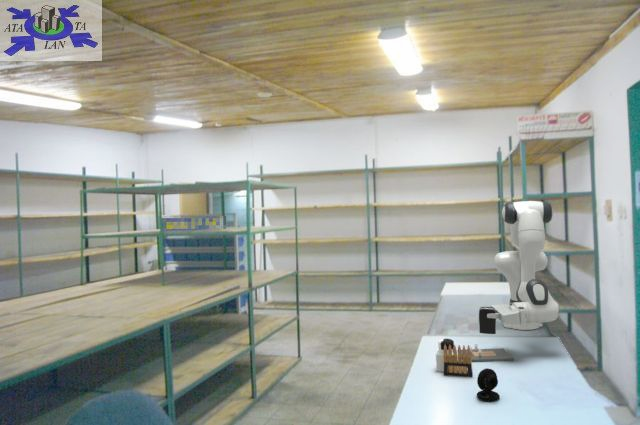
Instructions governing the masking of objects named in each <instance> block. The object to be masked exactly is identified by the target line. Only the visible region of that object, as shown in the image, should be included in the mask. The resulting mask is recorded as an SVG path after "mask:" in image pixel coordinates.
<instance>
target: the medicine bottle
mask: <svg viewBox="0 0 640 425" xmlns="http://www.w3.org/2000/svg"><path fill="white" fill-rule="evenodd" d="M437 342H438V350H437V352H436V354H435V363H436V372H440V373H444V345H446V347H447V354H449V345H451V349H452V356H453V347H454V345H455V343H454V342H455V341H454V340H453V339H451V338H441V339H439V340H438V341H437ZM457 350H458V349H456V352H457V353H458V351H457ZM448 368H449V366H448ZM453 371H454V369H453Z"/></svg>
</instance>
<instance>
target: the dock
mask: <svg viewBox="0 0 640 425" xmlns="http://www.w3.org/2000/svg"><path fill="white" fill-rule="evenodd" d="M469 347H470V352H471V360H472V363H484V362H485V363H486V362H487V363H488V362H514V358H513V356H511V354H510V353H509V352H508V351H507V350H506V349H505V348H504V347H503V348H500V347H499V348H479V347H478V344H476V343H475V344H474V348H473V347H472V346H469ZM478 348H479V349H478ZM465 349H466V348H465ZM456 350H457V352H458V349H456ZM461 355H463V349H461ZM466 356H467V349H466Z"/></svg>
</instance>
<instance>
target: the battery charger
mask: <svg viewBox="0 0 640 425" xmlns="http://www.w3.org/2000/svg"><path fill="white" fill-rule="evenodd" d="M487 313H496V311H495V308H493V307H491V306H481V307H479V309H478V327H479V330H478V332H479V333H480V334H483V335H484V334H485V335H486V334H487V335H495V334H496V333H497V328H496V326H497V319H494V318H487V315H486V314H487Z"/></svg>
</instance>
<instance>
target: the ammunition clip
mask: <svg viewBox="0 0 640 425" xmlns="http://www.w3.org/2000/svg"><path fill="white" fill-rule="evenodd" d="M470 347H471V346H470V345H469V344H468V345H467V356H466V346H465V345H463V346H462V347H461V345H460V344H458V347H456V344H454V347H453V356H452V349H451V345H449V354H447V347H446V345H444V372H443V376H448V377H449V376H450V377H461V378H462V377H463V378H473V376H474V375H473V374H474V373H473V365H472V363H473V362H472V360H471V352H470ZM461 348H462V349H461ZM456 350H458V351H457V352H456ZM461 350H463V355H461ZM448 366H449V368H448ZM453 369H454V371H453Z"/></svg>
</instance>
